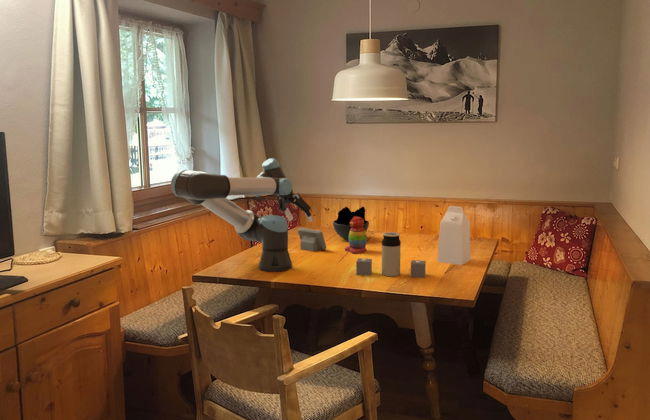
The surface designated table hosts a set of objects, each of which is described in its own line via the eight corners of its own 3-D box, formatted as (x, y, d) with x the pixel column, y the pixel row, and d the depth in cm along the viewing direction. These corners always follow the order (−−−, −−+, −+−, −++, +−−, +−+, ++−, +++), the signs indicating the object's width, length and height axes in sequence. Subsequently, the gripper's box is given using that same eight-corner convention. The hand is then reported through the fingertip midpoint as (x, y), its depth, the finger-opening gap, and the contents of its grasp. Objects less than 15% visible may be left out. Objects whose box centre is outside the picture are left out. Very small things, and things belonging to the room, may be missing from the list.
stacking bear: (343, 250, 302) (343, 216, 299) (360, 248, 306) (360, 214, 304) (353, 254, 292) (353, 219, 290) (371, 252, 297) (371, 217, 294)
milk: (470, 260, 279) (472, 206, 275) (461, 265, 270) (463, 209, 266) (446, 256, 286) (448, 204, 282) (437, 261, 276) (438, 207, 272)
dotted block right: (424, 277, 249) (425, 263, 248) (410, 277, 250) (410, 263, 249) (425, 274, 255) (425, 260, 254) (411, 273, 256) (411, 259, 255)
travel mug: (390, 277, 249) (390, 236, 246) (377, 273, 256) (378, 233, 253) (403, 274, 254) (404, 234, 251) (391, 271, 260) (391, 231, 257)
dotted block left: (370, 275, 253) (370, 261, 252) (356, 275, 254) (356, 261, 253) (371, 272, 259) (371, 258, 258) (358, 271, 260) (358, 257, 259)
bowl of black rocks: (327, 241, 322) (327, 208, 319) (340, 235, 340) (340, 202, 337) (361, 244, 314) (362, 210, 311) (373, 237, 332) (373, 204, 330)
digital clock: (328, 250, 301) (328, 230, 300) (314, 253, 296) (314, 232, 294) (308, 245, 314) (308, 225, 312) (295, 247, 308) (294, 227, 306)
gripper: (305, 182, 277) (323, 216, 288) (269, 182, 294) (287, 214, 304) (296, 192, 273) (315, 226, 284) (260, 191, 290) (279, 223, 300)
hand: (301, 220), depth 294 cm, fingers open, 13 cm apart
